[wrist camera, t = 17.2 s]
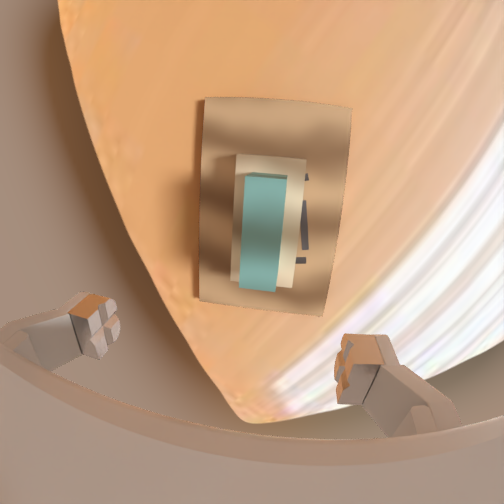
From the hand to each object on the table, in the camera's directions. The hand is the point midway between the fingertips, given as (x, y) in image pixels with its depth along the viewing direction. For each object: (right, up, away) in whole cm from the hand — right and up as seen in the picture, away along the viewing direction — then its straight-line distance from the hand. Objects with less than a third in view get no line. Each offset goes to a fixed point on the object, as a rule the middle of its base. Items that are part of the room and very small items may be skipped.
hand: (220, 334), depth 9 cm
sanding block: (+3, +6, +18) cm, 20 cm away
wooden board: (+3, +7, +19) cm, 21 cm away
